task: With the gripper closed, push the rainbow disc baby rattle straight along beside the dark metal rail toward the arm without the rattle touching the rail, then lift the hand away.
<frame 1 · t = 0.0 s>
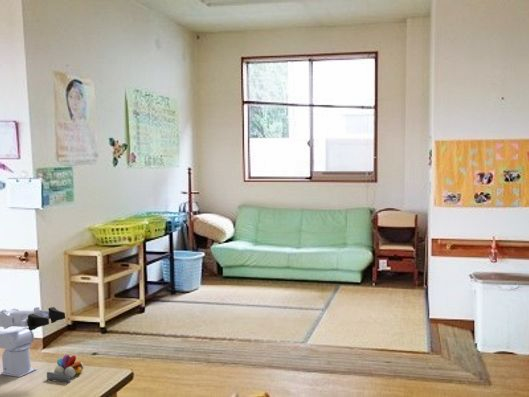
hand: (56, 318, 200), 22 cm above the table, tool horizontal, fingers open, 7 cm apart
rail: (58, 380, 200), on the table
rainbow disc baby rattle: (69, 375, 206), on the table
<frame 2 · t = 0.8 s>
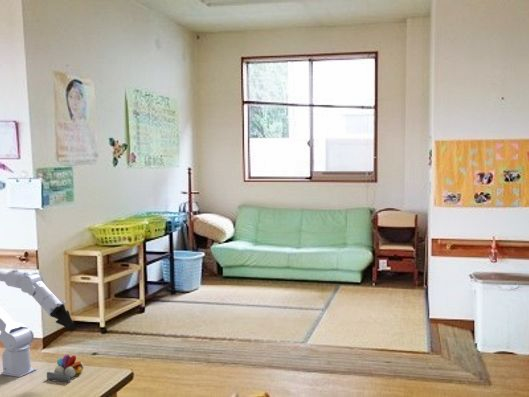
hand: (72, 327, 200), 19 cm above the table, tool tilted 50°, fingers open, 7 cm apart
nothing on the table moved.
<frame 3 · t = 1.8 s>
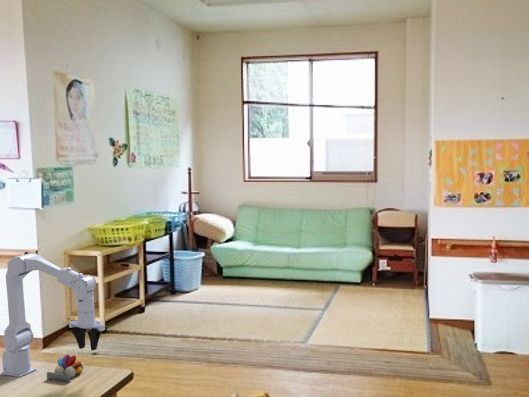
hand: (88, 348, 201), 10 cm above the table, tool pointing down, fingers open, 5 cm apart
nothing on the table moved.
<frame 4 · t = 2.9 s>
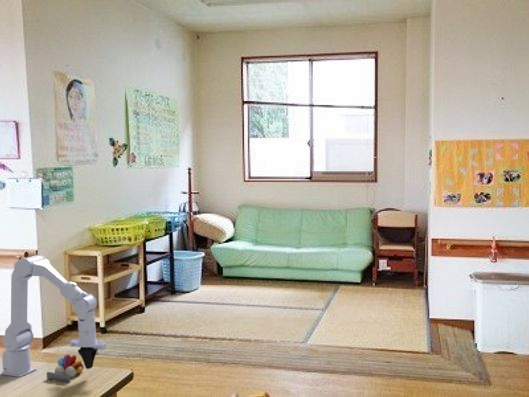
hand: (89, 367, 202), 4 cm above the table, tool pointing down, fingers closed
nothing on the table moved.
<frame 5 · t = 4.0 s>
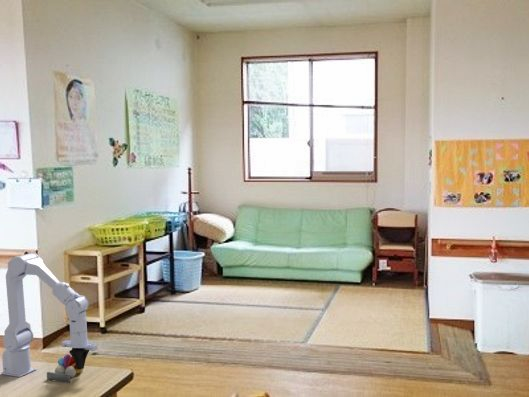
hand: (80, 368, 203), 3 cm above the table, tool pointing down, fingers closed
rainbow disc baby rattle: (69, 374, 206), on the table, touching gripper
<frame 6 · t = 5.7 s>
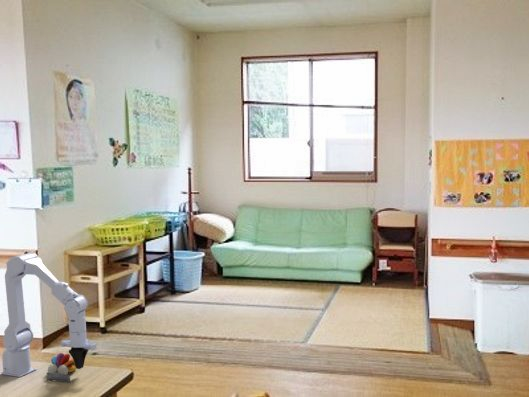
hand: (79, 367, 204), 3 cm above the table, tool pointing down, fingers closed
rainbow disc baby rattle: (63, 373, 208), on the table
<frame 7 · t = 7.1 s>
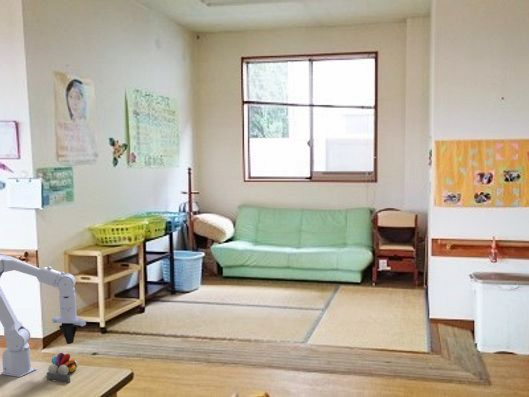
hand: (70, 343, 212), 9 cm above the table, tool pointing down, fingers closed
nothing on the table moved.
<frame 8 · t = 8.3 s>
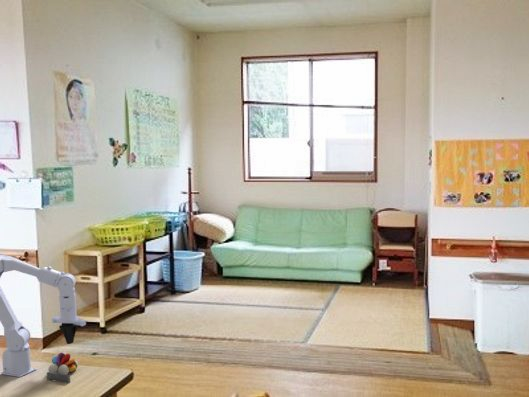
hand: (70, 343, 212), 9 cm above the table, tool pointing down, fingers closed
nothing on the table moved.
at the end: rainbow disc baby rattle 1.0 cm from the target spot, on the table; rainbow disc baby rattle touching table; rainbow disc baby rattle tilted 0° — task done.
